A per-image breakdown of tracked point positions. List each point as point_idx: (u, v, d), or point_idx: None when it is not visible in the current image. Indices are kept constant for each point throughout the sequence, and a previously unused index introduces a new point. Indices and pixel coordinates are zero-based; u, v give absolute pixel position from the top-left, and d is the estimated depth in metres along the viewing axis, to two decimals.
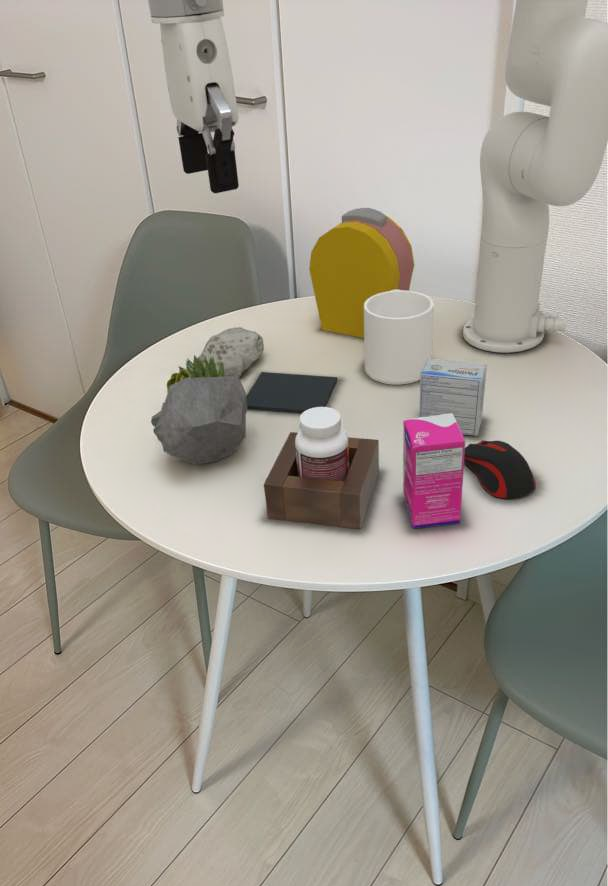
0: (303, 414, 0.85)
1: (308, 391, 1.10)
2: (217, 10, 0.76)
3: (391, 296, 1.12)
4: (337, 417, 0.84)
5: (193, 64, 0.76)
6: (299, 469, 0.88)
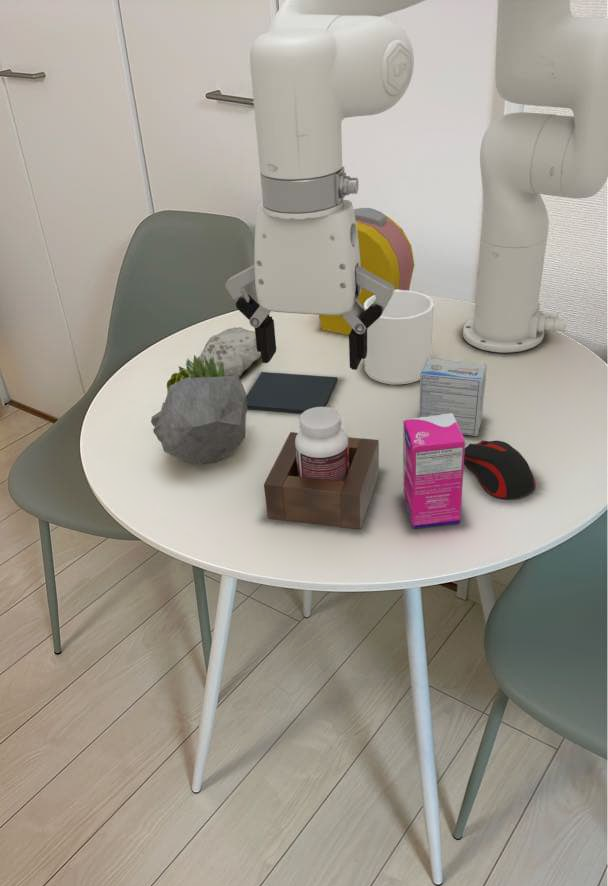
0: (303, 414, 0.85)
1: (308, 391, 1.10)
2: None
3: None
4: (337, 417, 0.84)
5: (349, 251, 0.70)
6: (299, 469, 0.88)
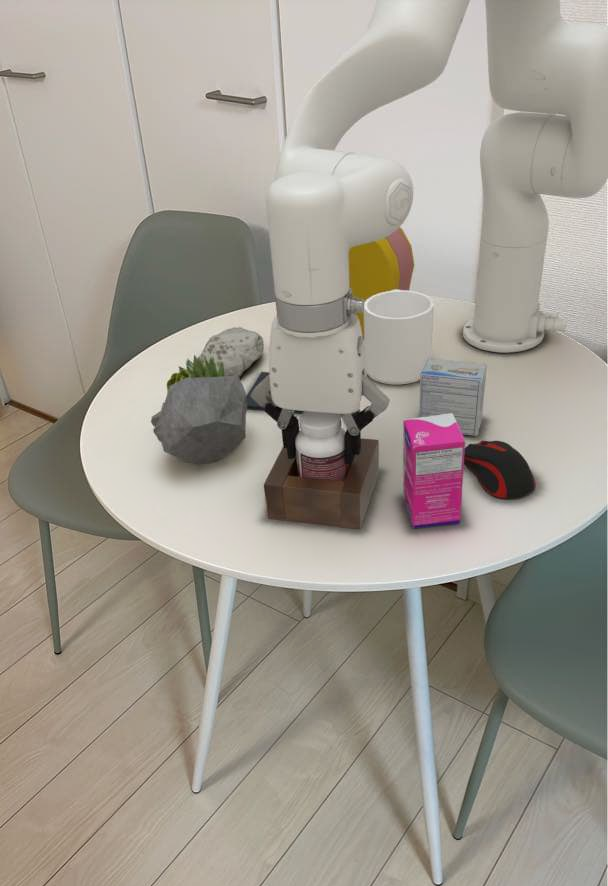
0: (303, 414, 0.85)
1: None
2: None
3: (391, 296, 1.12)
4: (337, 417, 0.84)
5: (356, 362, 0.77)
6: (299, 469, 0.88)
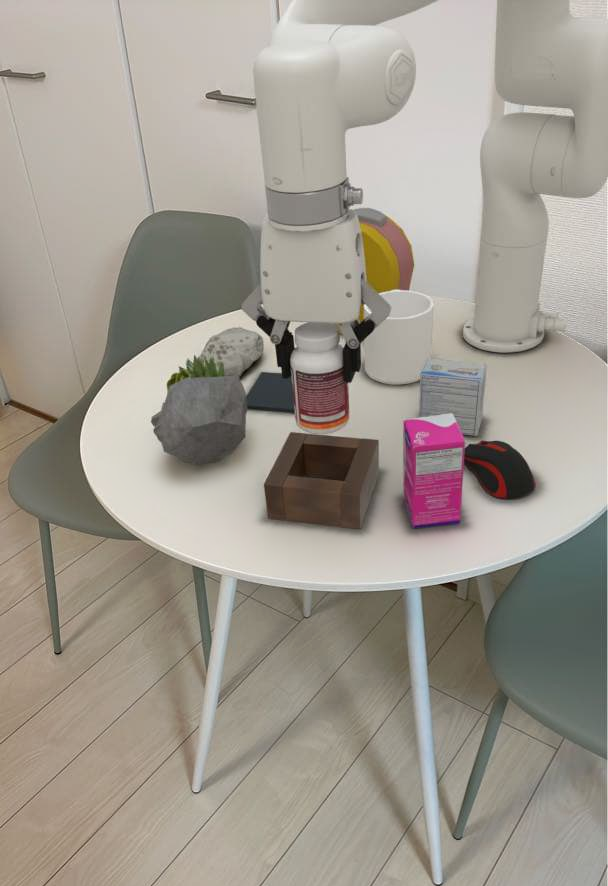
0: (299, 328, 0.79)
1: None
2: None
3: (391, 296, 1.12)
4: (335, 330, 0.78)
5: (354, 261, 0.71)
6: (294, 390, 0.81)
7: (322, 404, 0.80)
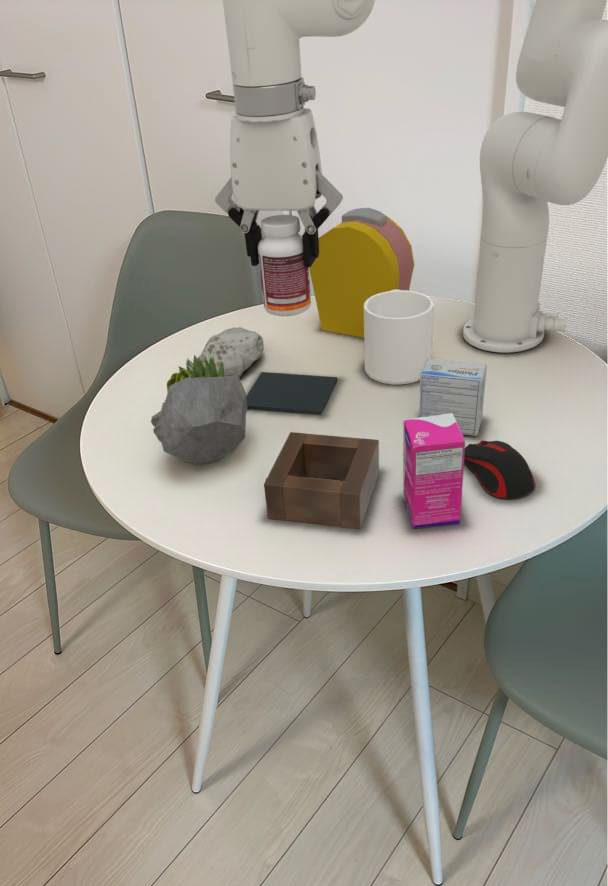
0: (265, 219, 0.92)
1: (308, 391, 1.10)
2: None
3: (391, 296, 1.12)
4: (296, 219, 0.91)
5: (309, 151, 0.83)
6: (262, 275, 0.94)
7: (286, 286, 0.93)
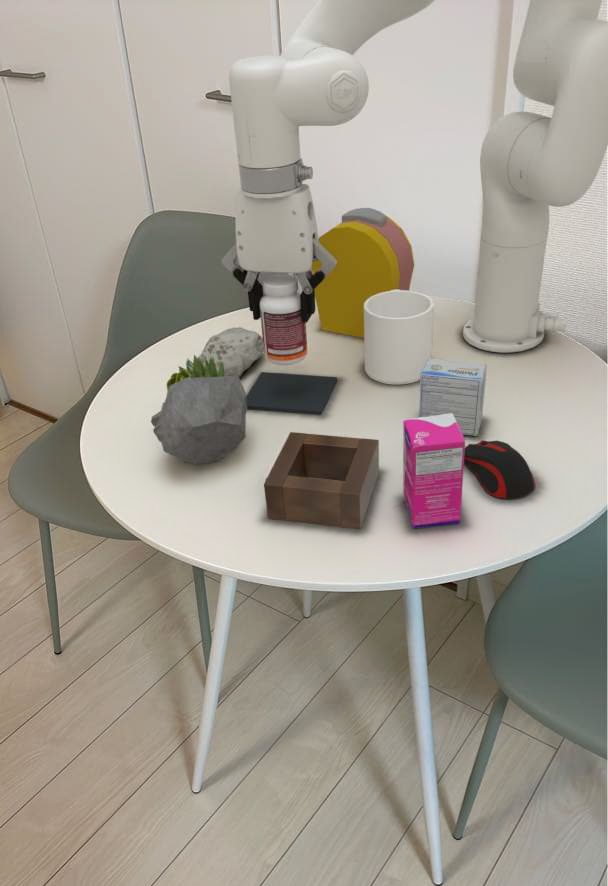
0: (266, 278, 1.01)
1: (308, 391, 1.10)
2: None
3: (391, 296, 1.12)
4: (294, 280, 1.00)
5: (307, 223, 0.93)
6: (263, 328, 1.03)
7: (284, 339, 1.02)
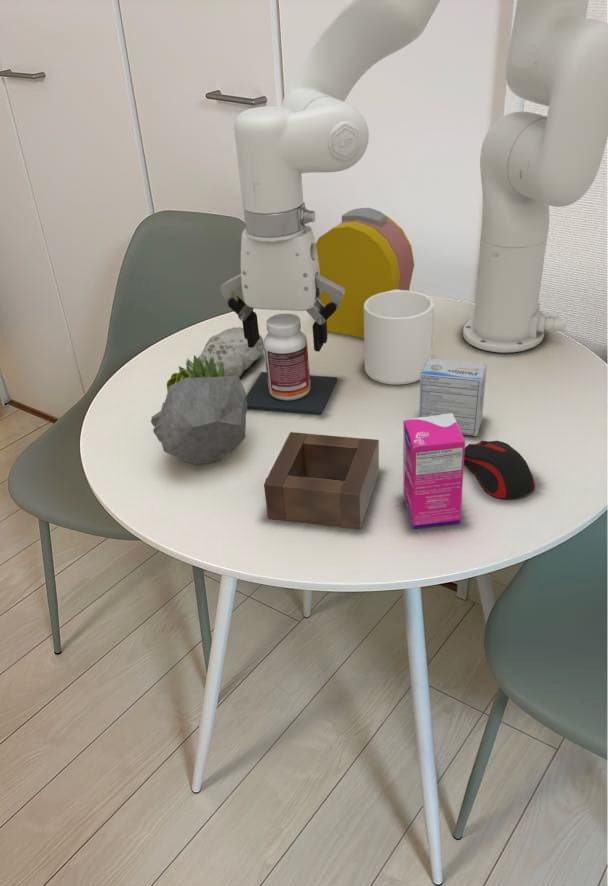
0: (269, 318, 1.04)
1: None
2: None
3: (391, 296, 1.12)
4: (297, 320, 1.03)
5: (309, 264, 0.96)
6: (267, 366, 1.06)
7: (288, 376, 1.06)
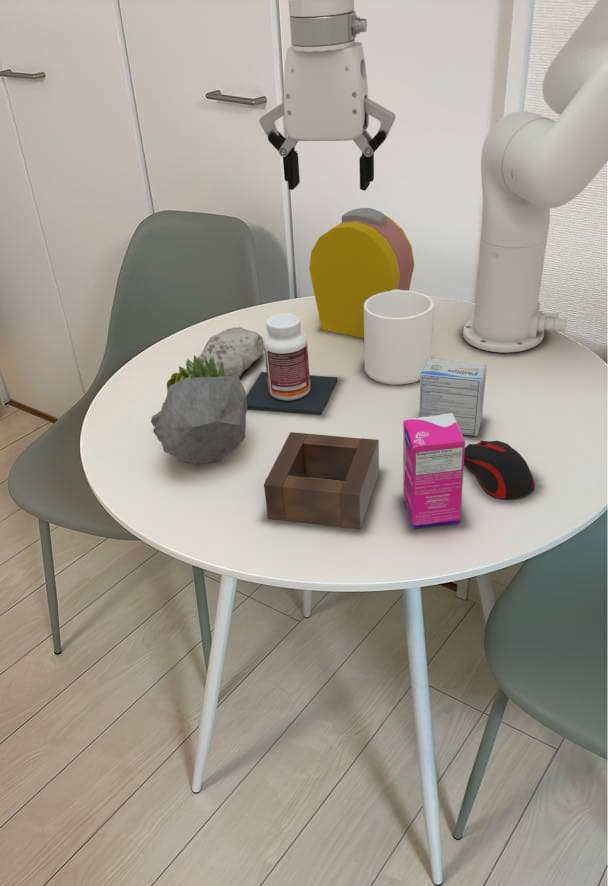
0: (269, 318, 1.04)
1: None
2: None
3: (391, 296, 1.12)
4: (297, 320, 1.03)
5: (359, 81, 0.89)
6: (267, 366, 1.06)
7: (288, 376, 1.06)
